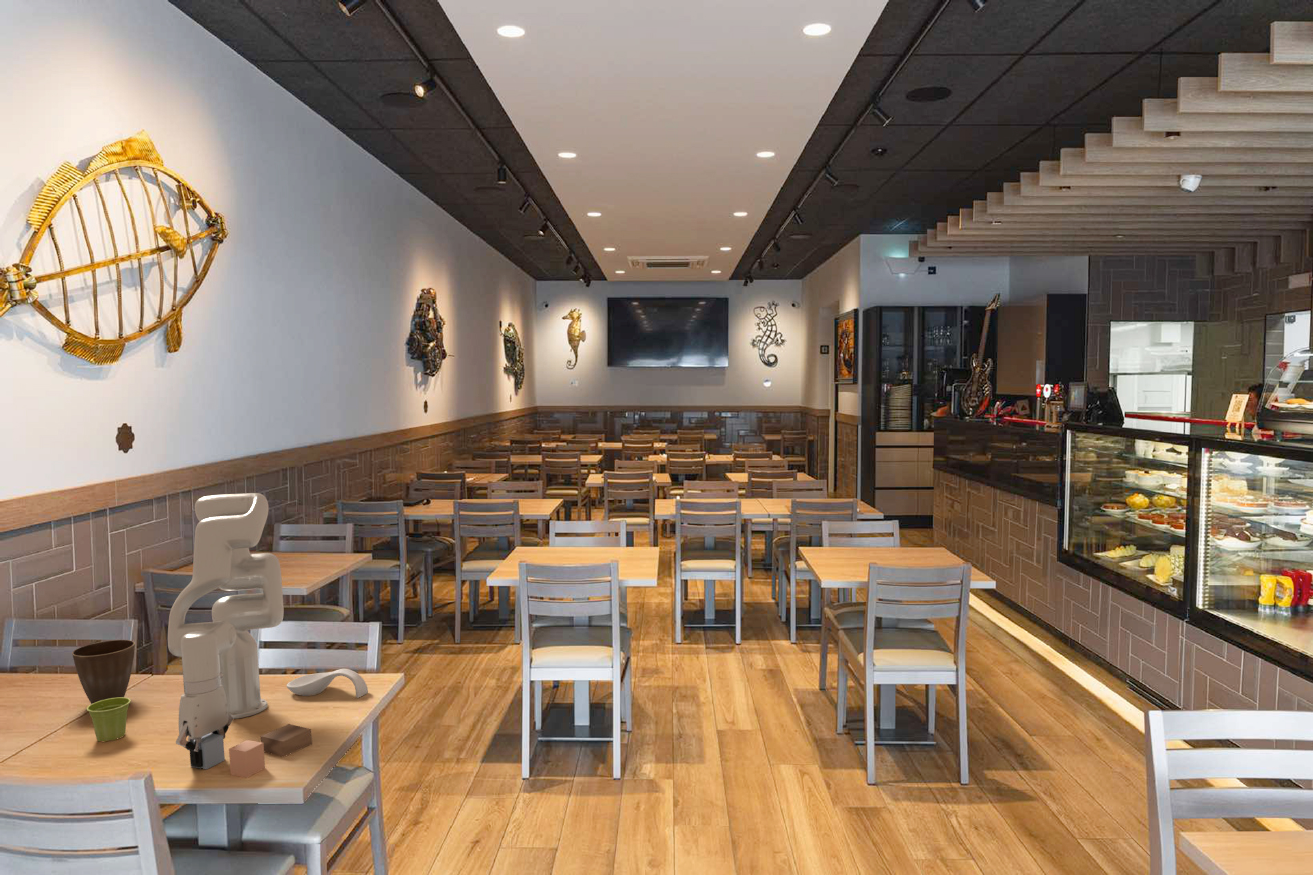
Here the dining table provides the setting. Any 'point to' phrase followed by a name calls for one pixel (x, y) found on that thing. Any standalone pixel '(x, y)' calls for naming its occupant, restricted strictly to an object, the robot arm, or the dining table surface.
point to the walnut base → (286, 740)
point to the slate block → (211, 750)
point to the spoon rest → (325, 682)
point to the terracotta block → (247, 758)
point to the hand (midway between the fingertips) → (207, 760)
